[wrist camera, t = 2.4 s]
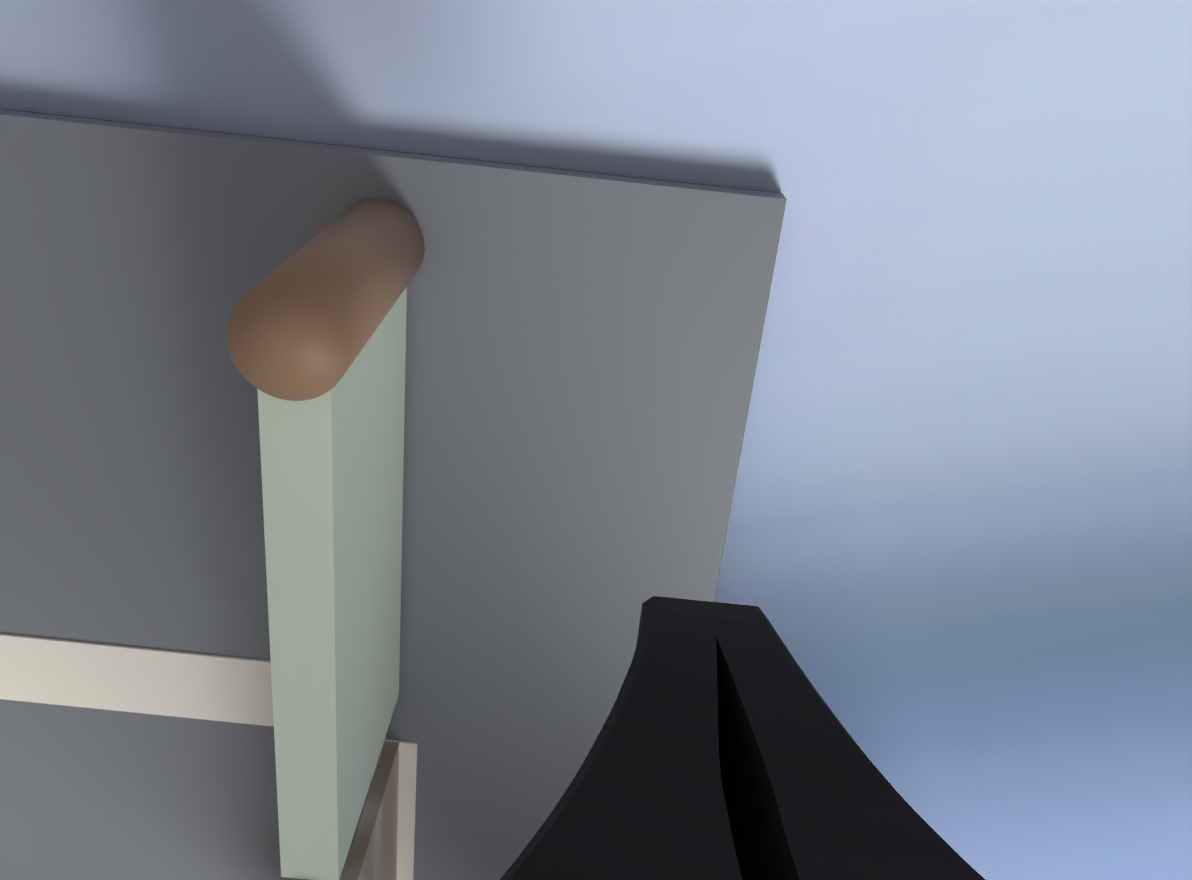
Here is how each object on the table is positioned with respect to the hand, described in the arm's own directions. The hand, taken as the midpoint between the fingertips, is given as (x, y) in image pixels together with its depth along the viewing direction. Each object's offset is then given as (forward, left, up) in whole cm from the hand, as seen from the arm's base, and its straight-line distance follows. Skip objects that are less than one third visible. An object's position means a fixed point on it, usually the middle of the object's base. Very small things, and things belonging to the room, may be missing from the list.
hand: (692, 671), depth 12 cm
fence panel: (+6, +3, -8) cm, 10 cm away
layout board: (+8, +7, -9) cm, 14 cm away
